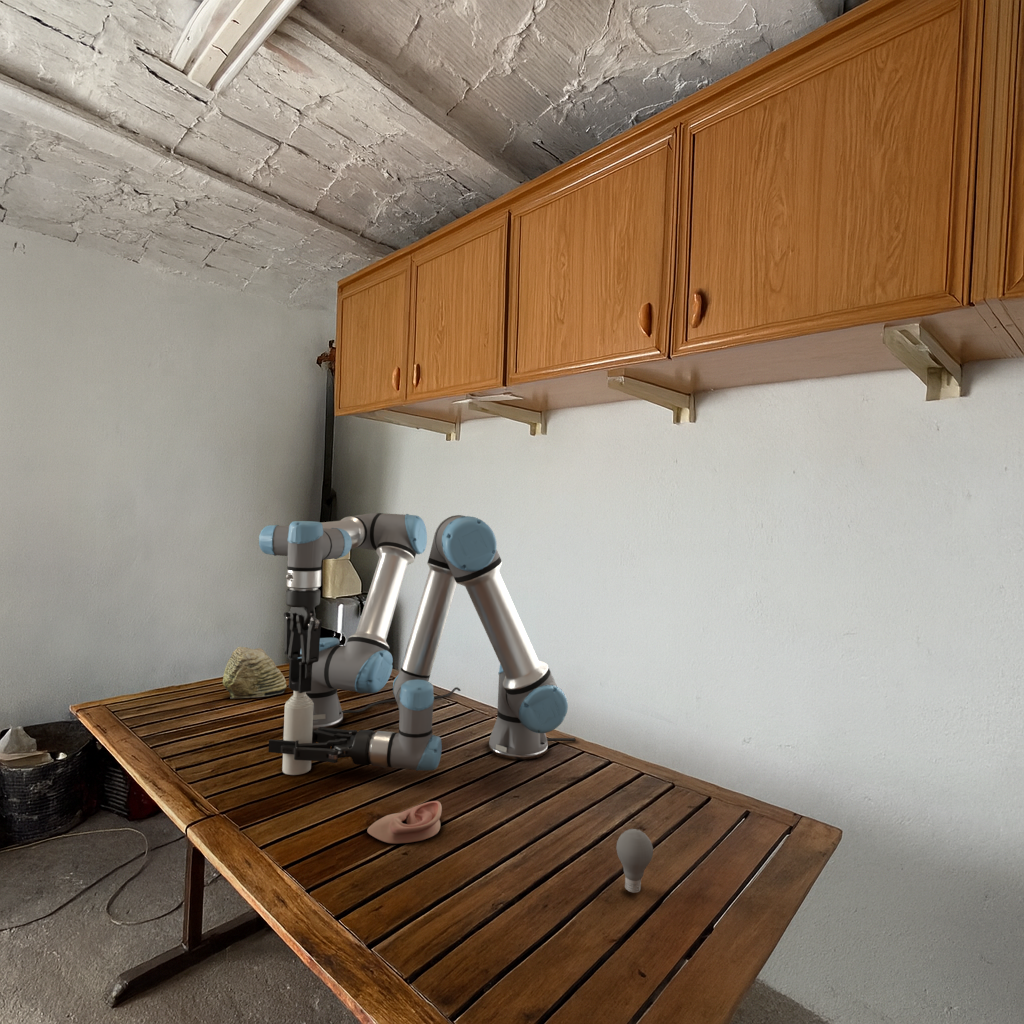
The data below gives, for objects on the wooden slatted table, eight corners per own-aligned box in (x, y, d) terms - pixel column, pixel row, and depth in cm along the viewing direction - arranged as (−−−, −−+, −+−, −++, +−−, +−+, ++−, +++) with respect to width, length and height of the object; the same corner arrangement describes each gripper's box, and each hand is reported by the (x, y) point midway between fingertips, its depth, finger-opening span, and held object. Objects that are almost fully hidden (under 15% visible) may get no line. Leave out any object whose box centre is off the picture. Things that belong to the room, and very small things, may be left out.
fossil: (218, 695, 195) (220, 647, 195) (278, 685, 208) (279, 640, 207) (228, 703, 189) (230, 653, 188) (289, 692, 201) (290, 645, 201)
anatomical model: (360, 817, 118) (385, 790, 129) (359, 839, 118) (384, 809, 129) (428, 828, 115) (447, 799, 126) (427, 850, 115) (446, 819, 126)
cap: (311, 689, 146) (312, 680, 146) (294, 692, 143) (294, 683, 143) (305, 685, 149) (305, 676, 149) (288, 687, 146) (288, 679, 146)
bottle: (303, 776, 143) (306, 688, 143) (277, 773, 144) (280, 686, 144) (315, 764, 149) (319, 680, 149) (290, 762, 150) (293, 678, 150)
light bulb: (610, 879, 108) (613, 822, 108) (644, 879, 109) (647, 822, 109) (619, 902, 102) (622, 840, 102) (655, 901, 103) (658, 840, 103)
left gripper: (270, 584, 149) (266, 683, 149) (307, 594, 137) (303, 701, 138) (299, 582, 154) (296, 678, 155) (338, 591, 143) (334, 694, 143)
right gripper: (358, 783, 135) (255, 773, 137) (385, 748, 154) (294, 740, 157) (359, 748, 135) (256, 739, 137) (386, 717, 154) (295, 710, 157)
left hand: (299, 688), depth 146 cm, fingers closed on cap, 4 cm apart
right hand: (276, 739), depth 147 cm, fingers closed on bottle, 6 cm apart
